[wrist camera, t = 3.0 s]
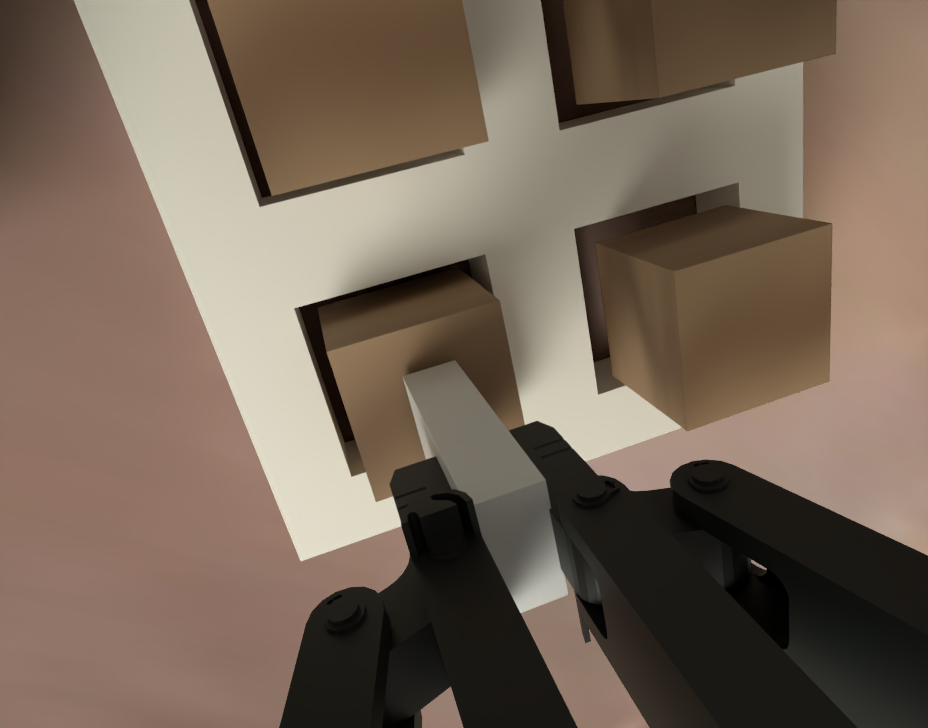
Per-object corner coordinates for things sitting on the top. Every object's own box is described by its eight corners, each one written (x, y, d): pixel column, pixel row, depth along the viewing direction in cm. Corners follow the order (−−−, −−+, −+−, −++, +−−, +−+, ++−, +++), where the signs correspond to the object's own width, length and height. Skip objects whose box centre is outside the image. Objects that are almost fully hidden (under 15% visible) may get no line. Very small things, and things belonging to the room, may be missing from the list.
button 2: (208, -21, 15) (182, -75, 11) (399, -58, 16) (439, -121, 12) (273, 180, 17) (271, 195, 13) (441, 138, 18) (488, 141, 14)
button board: (49, -115, 16) (10, -155, 14) (741, -227, 19) (803, -275, 17) (298, 520, 24) (300, 561, 22) (759, 363, 27) (802, 385, 25)
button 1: (317, 307, 20) (326, 351, 16) (457, 267, 21) (499, 300, 17) (358, 434, 22) (376, 502, 18) (485, 393, 23) (529, 449, 19)
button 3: (594, 242, 20) (674, 271, 16) (725, 205, 21) (832, 223, 17) (612, 375, 22) (687, 431, 18) (732, 336, 23) (829, 381, 19)
